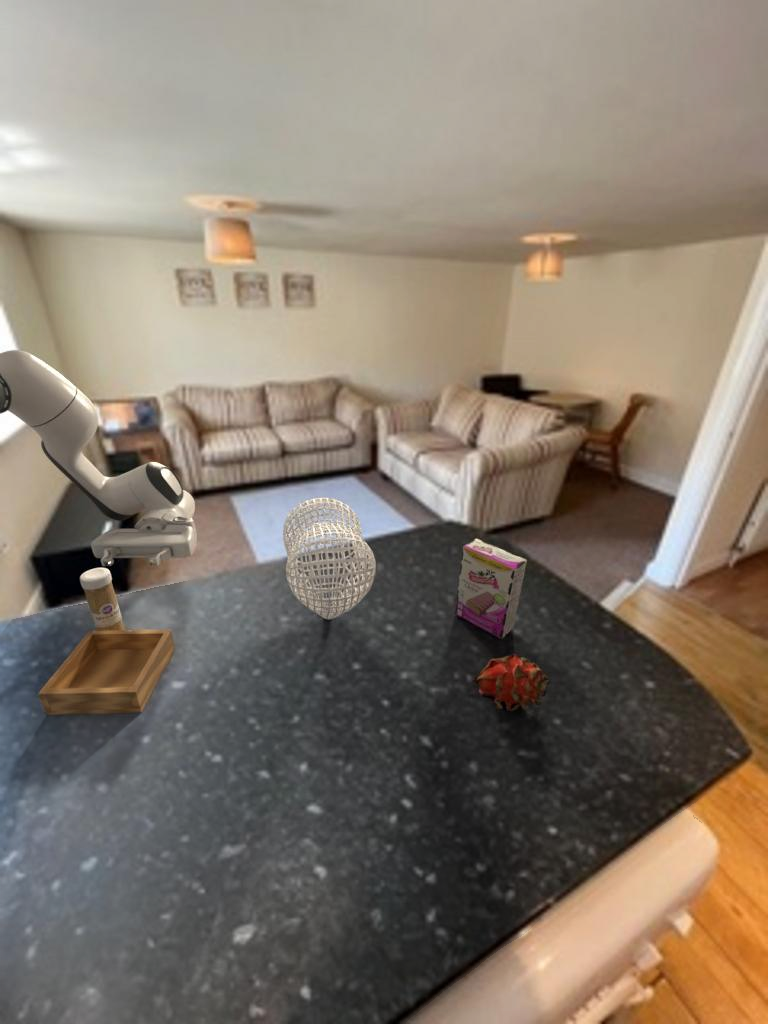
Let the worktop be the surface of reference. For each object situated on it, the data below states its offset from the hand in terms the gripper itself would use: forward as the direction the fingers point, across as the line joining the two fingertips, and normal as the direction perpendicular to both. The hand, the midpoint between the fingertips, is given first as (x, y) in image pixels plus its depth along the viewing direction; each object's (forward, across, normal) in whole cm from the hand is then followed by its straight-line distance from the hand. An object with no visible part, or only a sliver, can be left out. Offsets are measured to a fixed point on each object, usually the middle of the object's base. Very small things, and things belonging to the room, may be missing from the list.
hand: (129, 563), depth 90 cm
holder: (+22, +6, +9) cm, 24 cm away
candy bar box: (+9, +71, +9) cm, 72 cm away
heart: (+6, +40, +9) cm, 41 cm away
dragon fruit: (+28, +70, +9) cm, 76 cm away
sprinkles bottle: (+11, 0, +9) cm, 14 cm away
